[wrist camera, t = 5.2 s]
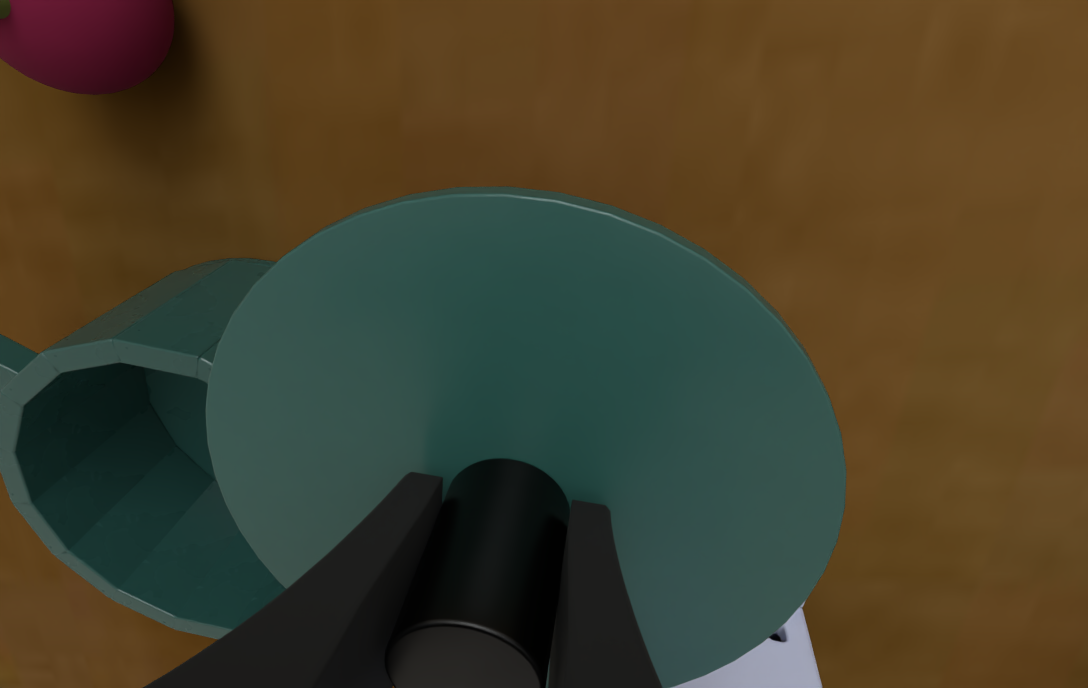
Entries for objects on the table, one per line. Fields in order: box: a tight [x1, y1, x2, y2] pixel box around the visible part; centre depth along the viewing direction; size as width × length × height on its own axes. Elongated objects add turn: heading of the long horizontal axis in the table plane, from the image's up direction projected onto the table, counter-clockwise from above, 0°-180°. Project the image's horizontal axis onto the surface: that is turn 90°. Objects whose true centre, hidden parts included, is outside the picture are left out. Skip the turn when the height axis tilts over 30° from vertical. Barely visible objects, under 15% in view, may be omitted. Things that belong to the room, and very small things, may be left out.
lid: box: [205, 186, 846, 688], centre depth 11 cm, size 12×12×5 cm
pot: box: [0, 258, 286, 639], centre depth 22 cm, size 11×17×6 cm
